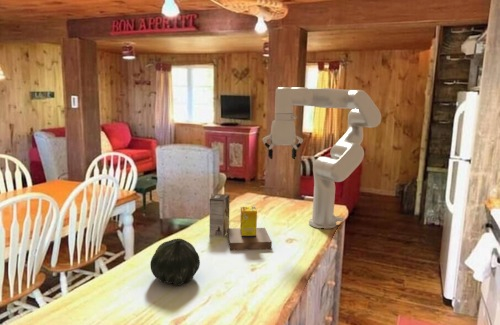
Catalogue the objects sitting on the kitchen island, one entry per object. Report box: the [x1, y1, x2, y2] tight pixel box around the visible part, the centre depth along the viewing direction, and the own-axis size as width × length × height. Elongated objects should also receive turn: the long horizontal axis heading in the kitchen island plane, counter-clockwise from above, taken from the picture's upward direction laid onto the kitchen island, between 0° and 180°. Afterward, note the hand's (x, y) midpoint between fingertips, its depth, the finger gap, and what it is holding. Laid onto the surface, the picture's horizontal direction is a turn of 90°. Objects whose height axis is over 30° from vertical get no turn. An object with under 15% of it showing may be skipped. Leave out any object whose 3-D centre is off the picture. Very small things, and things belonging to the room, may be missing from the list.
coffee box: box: [209, 193, 230, 238], centre depth 165 cm, size 9×6×16 cm
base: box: [226, 227, 273, 251], centre depth 157 cm, size 16×16×3 cm
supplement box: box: [239, 206, 258, 238], centre depth 156 cm, size 6×6×11 cm
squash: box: [150, 238, 201, 286], centre depth 123 cm, size 14×15×15 cm
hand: (282, 158), depth 164 cm, fingers open, 9 cm apart
